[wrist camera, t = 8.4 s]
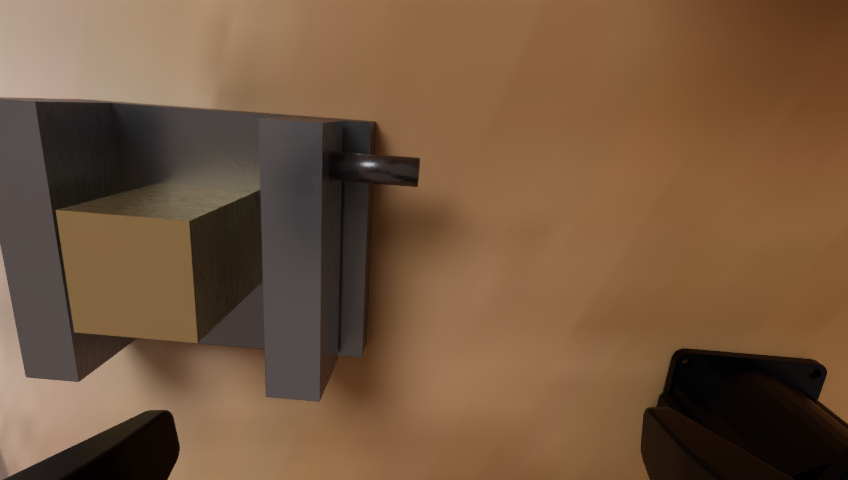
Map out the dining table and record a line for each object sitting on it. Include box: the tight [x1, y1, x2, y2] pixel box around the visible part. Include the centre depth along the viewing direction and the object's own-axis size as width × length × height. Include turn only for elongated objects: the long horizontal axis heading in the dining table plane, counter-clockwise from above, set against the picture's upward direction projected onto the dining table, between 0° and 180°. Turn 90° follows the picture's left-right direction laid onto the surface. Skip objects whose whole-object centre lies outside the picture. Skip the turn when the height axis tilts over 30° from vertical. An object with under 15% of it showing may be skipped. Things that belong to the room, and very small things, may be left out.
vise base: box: [0, 97, 376, 382], centre depth 18 cm, size 12×10×5 cm
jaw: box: [258, 117, 420, 402], centre depth 17 cm, size 5×10×3 cm, turn 176°
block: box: [56, 184, 259, 343], centre depth 17 cm, size 4×4×5 cm
